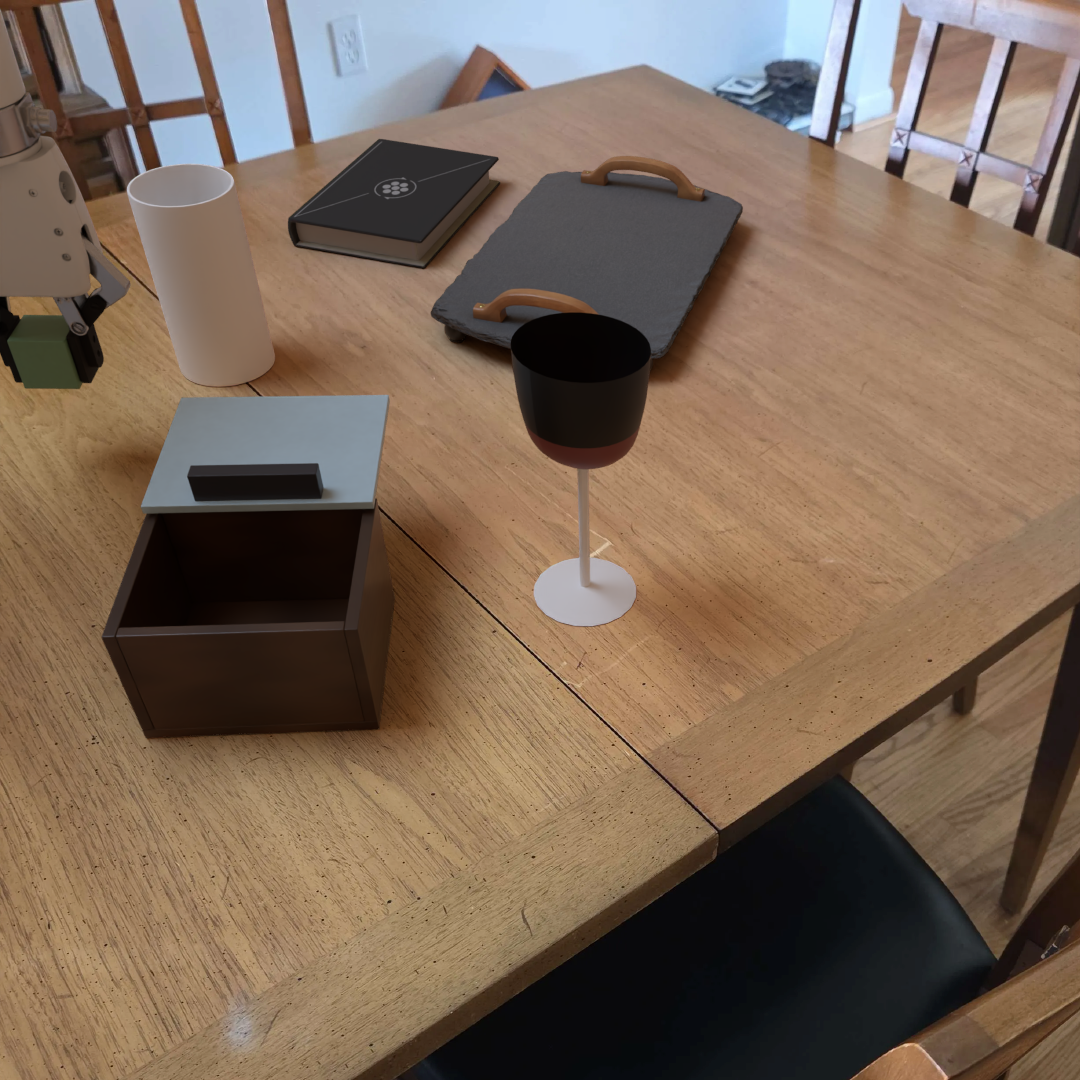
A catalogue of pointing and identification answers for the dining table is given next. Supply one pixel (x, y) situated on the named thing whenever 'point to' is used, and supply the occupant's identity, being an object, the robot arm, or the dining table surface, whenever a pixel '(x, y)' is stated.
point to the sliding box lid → (270, 454)
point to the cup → (203, 272)
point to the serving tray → (595, 254)
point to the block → (43, 353)
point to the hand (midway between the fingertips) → (58, 371)
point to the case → (254, 622)
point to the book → (395, 203)
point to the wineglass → (582, 438)
